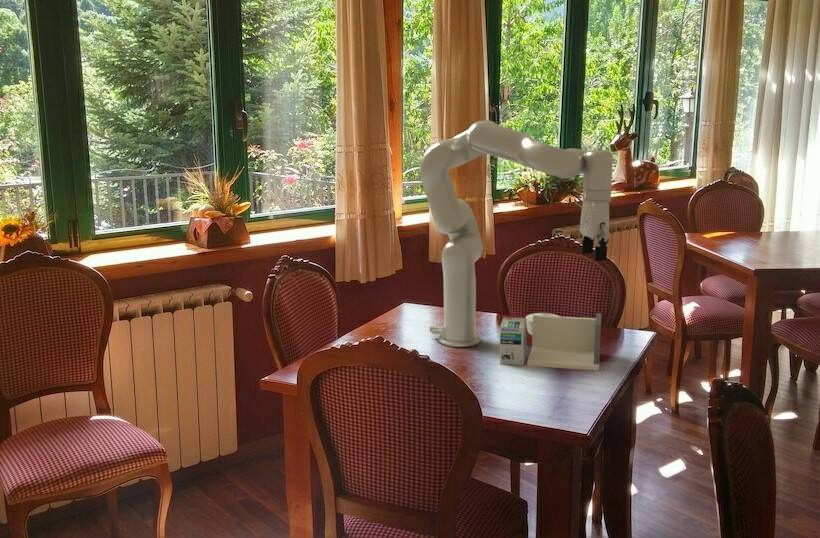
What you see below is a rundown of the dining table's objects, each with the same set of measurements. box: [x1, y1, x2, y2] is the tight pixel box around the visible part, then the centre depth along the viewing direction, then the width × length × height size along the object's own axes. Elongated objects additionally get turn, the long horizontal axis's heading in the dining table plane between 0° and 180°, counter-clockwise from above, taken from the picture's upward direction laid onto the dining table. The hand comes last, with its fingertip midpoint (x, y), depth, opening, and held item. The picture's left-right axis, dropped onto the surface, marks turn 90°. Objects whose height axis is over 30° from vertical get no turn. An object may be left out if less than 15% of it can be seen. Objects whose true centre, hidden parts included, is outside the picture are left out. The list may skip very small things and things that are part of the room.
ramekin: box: [525, 312, 561, 336], centre depth 246 cm, size 11×11×5 cm
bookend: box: [594, 312, 602, 366], centre depth 219 cm, size 1×12×11 cm, turn 167°
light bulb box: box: [499, 316, 527, 366], centre depth 222 cm, size 11×7×11 cm, turn 168°
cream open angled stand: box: [527, 315, 600, 371], centre depth 221 cm, size 19×15×10 cm
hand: (593, 256), depth 222 cm, fingers open, 9 cm apart
